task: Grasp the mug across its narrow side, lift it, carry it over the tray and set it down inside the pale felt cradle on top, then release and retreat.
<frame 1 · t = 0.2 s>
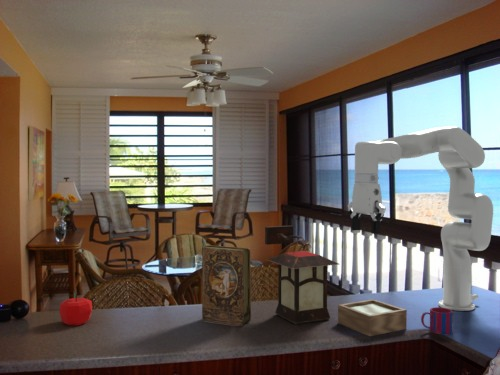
hand: (365, 231, 169), 31 cm above the counter, fingers open, 9 cm apart
tray: (371, 326, 168), on the counter
book: (225, 322, 173), on the counter
apple: (76, 323, 172), on the counter
lantern: (296, 315, 182), on the counter
mug: (435, 332, 163), on the counter
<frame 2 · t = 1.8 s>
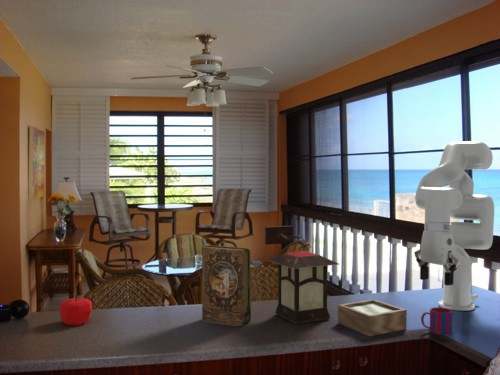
hand: (436, 282, 162), 16 cm above the counter, fingers open, 9 cm apart
nothing on the counter moved.
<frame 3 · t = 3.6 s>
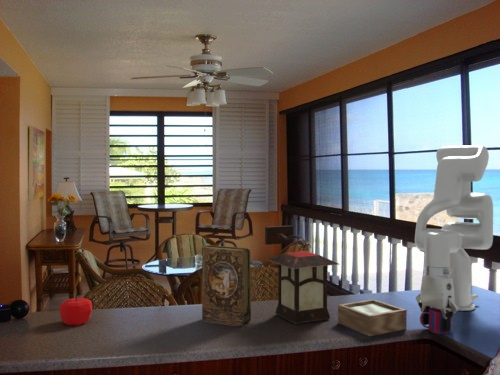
hand: (435, 327, 162), 1 cm above the counter, fingers closed on mug, 7 cm apart
mug: (434, 331, 163), on the counter, touching gripper
everything else where it was.
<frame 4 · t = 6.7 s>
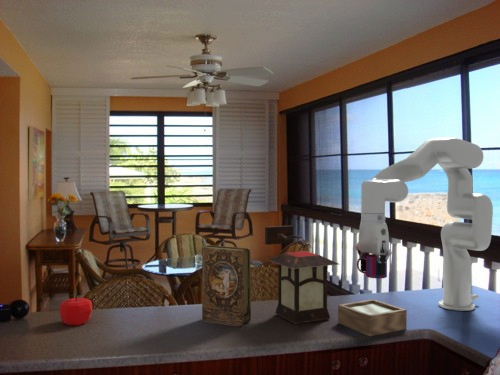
hand: (372, 272, 168), 18 cm above the counter, fingers closed on mug, 6 cm apart
mug: (371, 277, 169), point 16 cm above the counter, touching gripper
everything else where it was.
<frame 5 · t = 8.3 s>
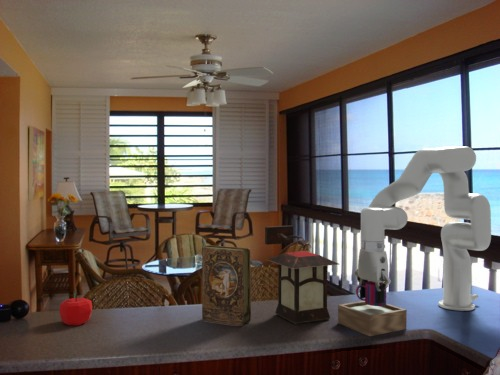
hand: (371, 299, 168), 9 cm above the counter, fingers closed on mug, 6 cm apart
mug: (370, 304, 169), point 7 cm above the counter, touching gripper
everything else where it was.
when the fingers open (8 cm above the counter, at t = 9.3 s): mug drops 2 cm, resting on tray.
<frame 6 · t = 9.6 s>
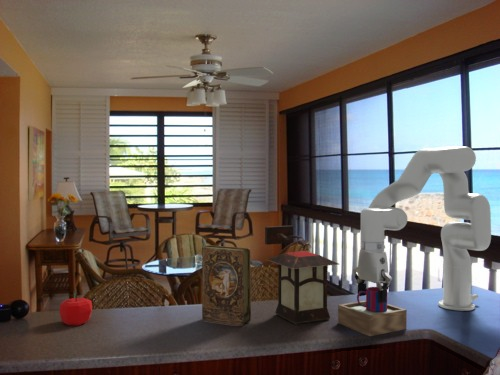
hand: (371, 298, 168), 9 cm above the counter, fingers open, 9 cm apart
mug: (371, 310, 169), point 5 cm above the counter, touching tray
everything else where it was.
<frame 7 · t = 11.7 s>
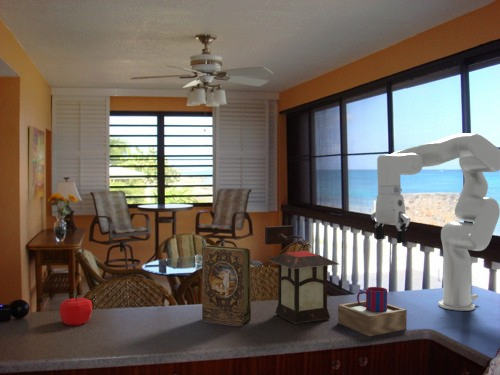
hand: (390, 240, 176), 27 cm above the counter, fingers open, 9 cm apart
nothing on the counter moved.
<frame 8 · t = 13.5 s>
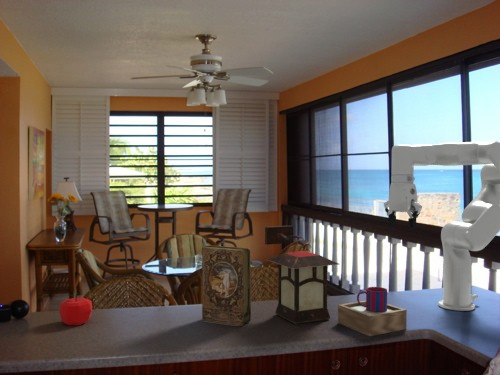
hand: (401, 228, 183), 30 cm above the counter, fingers open, 9 cm apart
nothing on the counter moved.
at the end: mug inside the target area on the tray (0.6 cm from its centre), point 5.0 cm above the tray's base; mug tilted 0°; the gripper is holding nothing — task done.
